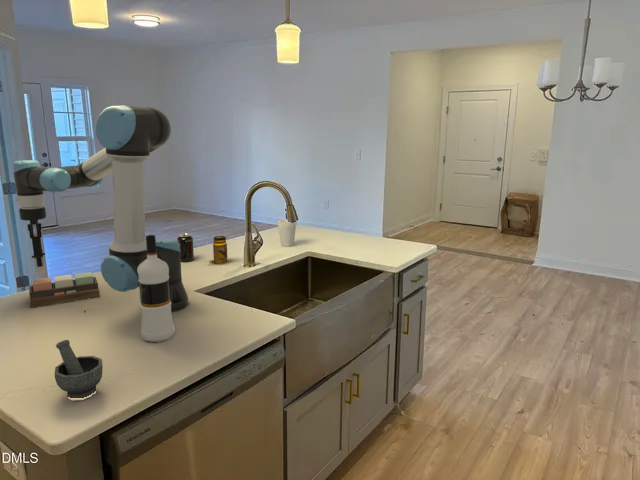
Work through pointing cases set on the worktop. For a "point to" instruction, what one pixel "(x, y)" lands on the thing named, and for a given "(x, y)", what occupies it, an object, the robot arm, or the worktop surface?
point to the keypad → (63, 294)
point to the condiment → (219, 251)
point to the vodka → (155, 296)
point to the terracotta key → (42, 284)
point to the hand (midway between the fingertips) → (41, 274)
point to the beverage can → (186, 247)
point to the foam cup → (286, 232)
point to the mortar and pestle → (77, 372)
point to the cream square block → (63, 281)
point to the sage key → (84, 278)
